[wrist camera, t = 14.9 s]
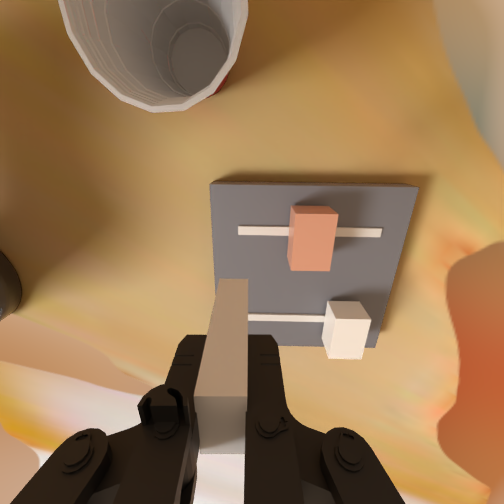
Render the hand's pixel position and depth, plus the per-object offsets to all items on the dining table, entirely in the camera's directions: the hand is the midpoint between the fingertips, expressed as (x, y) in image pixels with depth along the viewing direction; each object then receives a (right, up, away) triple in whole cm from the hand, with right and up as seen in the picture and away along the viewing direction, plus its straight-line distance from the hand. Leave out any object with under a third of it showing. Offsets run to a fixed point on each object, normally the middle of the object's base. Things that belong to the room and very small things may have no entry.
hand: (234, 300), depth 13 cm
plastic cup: (-4, +21, +11) cm, 24 cm away
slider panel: (+7, 0, +19) cm, 21 cm away
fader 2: (+12, -6, +19) cm, 23 cm away
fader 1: (+7, +5, +14) cm, 17 cm away
